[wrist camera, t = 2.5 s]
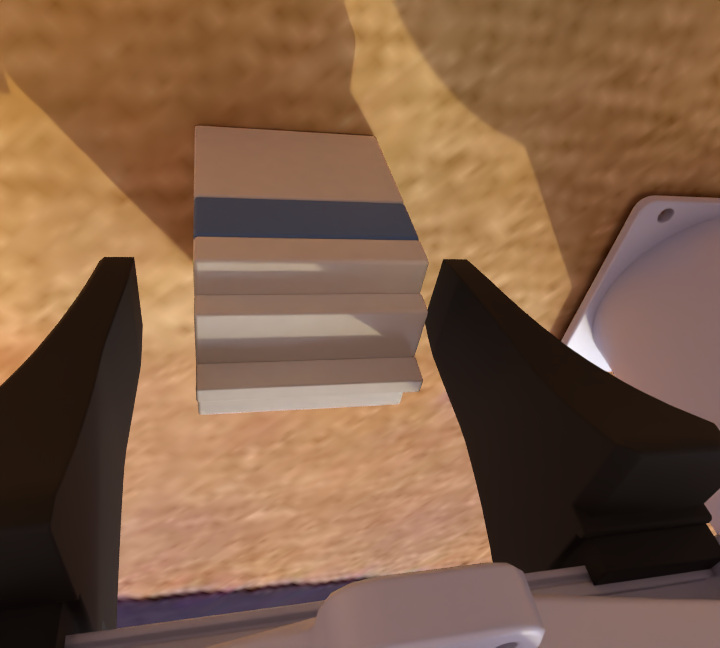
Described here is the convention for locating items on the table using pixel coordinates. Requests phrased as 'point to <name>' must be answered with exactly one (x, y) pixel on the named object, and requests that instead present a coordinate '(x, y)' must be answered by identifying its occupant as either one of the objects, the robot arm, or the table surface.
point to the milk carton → (302, 273)
